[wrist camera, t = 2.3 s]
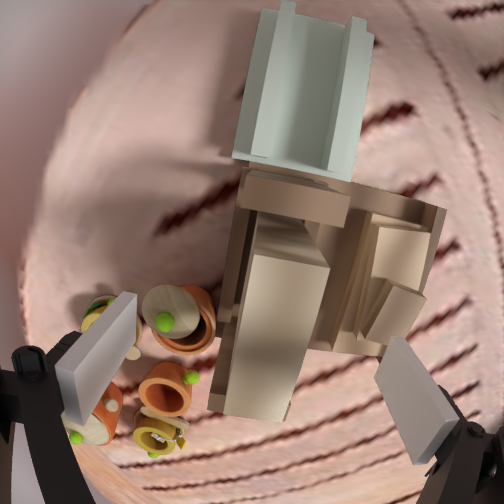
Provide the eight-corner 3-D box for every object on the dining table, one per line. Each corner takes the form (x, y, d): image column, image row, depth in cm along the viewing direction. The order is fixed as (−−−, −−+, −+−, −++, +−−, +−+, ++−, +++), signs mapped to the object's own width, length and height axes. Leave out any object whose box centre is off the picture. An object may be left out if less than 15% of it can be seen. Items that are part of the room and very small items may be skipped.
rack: (428, 203, 27) (509, 232, 15) (380, 350, 31) (421, 429, 20) (245, 160, 27) (231, 159, 15) (217, 327, 31) (194, 413, 19)
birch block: (296, 213, 27) (330, 268, 13) (275, 310, 29) (281, 422, 16) (258, 205, 27) (253, 254, 13) (240, 304, 29) (223, 414, 16)
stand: (370, 38, 23) (386, 21, 19) (346, 181, 27) (361, 185, 23) (262, 13, 23) (261, -9, 19) (232, 157, 27) (227, 157, 22)
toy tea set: (181, 448, 37) (167, 503, 28) (78, 406, 36) (48, 452, 27) (245, 287, 30) (237, 342, 21) (97, 231, 29) (40, 261, 20)
